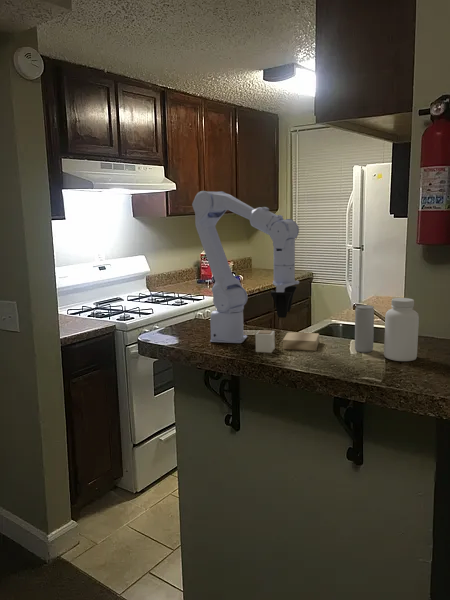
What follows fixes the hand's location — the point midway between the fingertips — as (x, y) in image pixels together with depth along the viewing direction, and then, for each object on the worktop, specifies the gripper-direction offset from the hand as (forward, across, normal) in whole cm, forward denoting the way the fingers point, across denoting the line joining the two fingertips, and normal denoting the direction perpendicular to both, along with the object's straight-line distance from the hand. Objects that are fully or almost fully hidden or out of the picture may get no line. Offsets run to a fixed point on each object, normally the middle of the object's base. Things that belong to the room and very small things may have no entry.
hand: (284, 314), depth 139 cm
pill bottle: (+10, -4, -30) cm, 32 cm away
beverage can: (+10, +1, -21) cm, 23 cm away
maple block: (+10, +4, -4) cm, 11 cm away
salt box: (+10, -3, +5) cm, 11 cm away
